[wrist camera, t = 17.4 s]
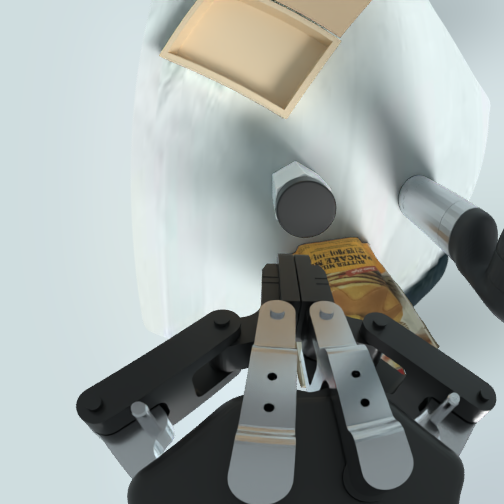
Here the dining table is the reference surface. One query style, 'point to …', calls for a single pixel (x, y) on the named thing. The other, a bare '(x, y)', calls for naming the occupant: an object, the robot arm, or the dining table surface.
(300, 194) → the jar
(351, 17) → the lid
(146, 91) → the dining table surface
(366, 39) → the dining table surface
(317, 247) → the pancake mix bag
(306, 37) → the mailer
